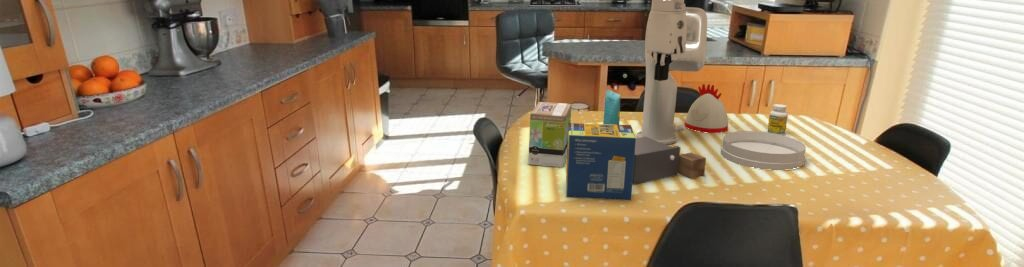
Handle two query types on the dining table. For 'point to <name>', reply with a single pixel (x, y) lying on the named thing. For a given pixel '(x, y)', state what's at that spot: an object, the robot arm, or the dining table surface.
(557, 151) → the tea box
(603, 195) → the protein box
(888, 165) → the dining table surface
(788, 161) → the dish
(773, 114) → the supplement bottle
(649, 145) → the housing
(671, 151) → the drawer
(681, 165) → the walnut block
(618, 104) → the tube
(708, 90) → the hen dome cover
